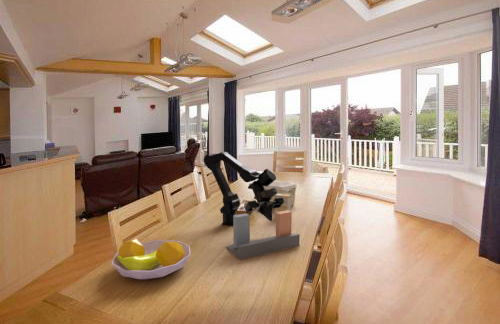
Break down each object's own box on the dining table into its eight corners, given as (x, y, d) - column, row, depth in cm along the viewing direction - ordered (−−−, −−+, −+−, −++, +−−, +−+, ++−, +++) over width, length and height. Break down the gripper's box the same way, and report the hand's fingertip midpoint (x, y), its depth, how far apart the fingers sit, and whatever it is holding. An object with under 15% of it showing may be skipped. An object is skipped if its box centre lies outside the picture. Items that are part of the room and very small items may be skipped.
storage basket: (253, 204, 195) (252, 182, 193) (268, 199, 207) (268, 178, 205) (283, 210, 179) (283, 186, 177) (297, 205, 191) (297, 182, 189)
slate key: (233, 245, 122) (232, 215, 121) (246, 242, 125) (245, 213, 124) (236, 248, 119) (236, 217, 118) (249, 245, 122) (249, 215, 121)
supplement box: (291, 217, 165) (291, 194, 163) (287, 219, 161) (287, 196, 159) (278, 215, 169) (278, 192, 168) (274, 217, 165) (274, 194, 164)
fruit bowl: (162, 248, 124) (161, 222, 123) (206, 266, 107) (205, 236, 105) (93, 274, 102) (90, 242, 101) (134, 302, 85) (132, 265, 84)
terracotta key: (275, 241, 126) (275, 212, 125) (286, 238, 129) (286, 210, 128) (279, 244, 123) (279, 214, 122) (291, 241, 126) (291, 212, 125)
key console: (226, 247, 123) (226, 236, 123) (282, 236, 136) (282, 225, 136) (239, 259, 112) (239, 247, 111) (299, 245, 125) (299, 234, 124)
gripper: (247, 184, 132) (259, 214, 124) (282, 180, 140) (295, 208, 132) (240, 197, 140) (250, 226, 131) (273, 193, 148) (285, 220, 140)
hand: (271, 220), depth 134 cm, fingers closed
